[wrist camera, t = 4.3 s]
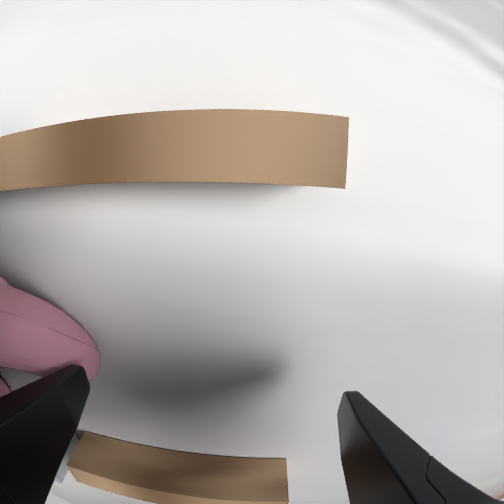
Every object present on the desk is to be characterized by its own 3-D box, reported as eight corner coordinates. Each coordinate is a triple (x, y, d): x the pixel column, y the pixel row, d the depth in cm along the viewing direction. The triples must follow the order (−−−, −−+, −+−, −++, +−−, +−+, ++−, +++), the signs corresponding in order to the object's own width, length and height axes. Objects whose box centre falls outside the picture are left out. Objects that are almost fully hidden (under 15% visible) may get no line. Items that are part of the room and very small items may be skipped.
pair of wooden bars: (324, 127, 8) (348, 117, 6) (282, 474, 13) (284, 514, 10) (24, 141, 8) (-24, 143, 6) (93, 448, 13) (76, 481, 10)
